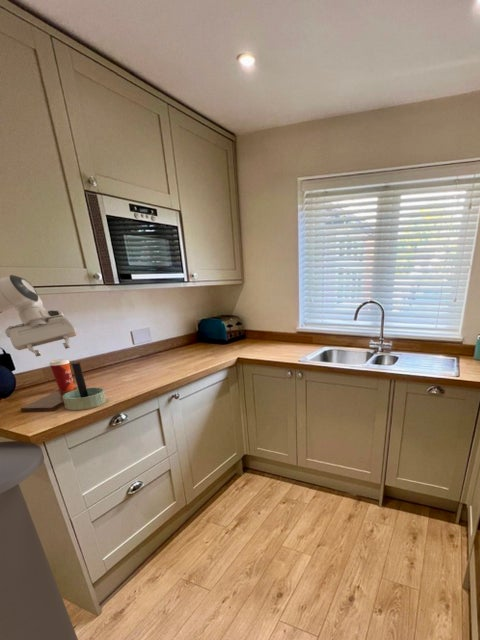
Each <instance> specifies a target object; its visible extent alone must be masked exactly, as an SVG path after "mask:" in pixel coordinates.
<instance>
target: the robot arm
mask: <svg viewBox="0 0 480 640" xmlns="http://www.w3.org/2000/svg"><path fill="white" fill-rule="evenodd" d="M14 308H15V310H16V311H17V312H18V317H19V319H20V321H21V323H20V324H15V325H10V326H8V327H7V328H6V329H5V331H4V333H5V335H6V337H8V338H9V339H10V342H11V344H12V347H13V348H14V349H15V350H16V351H17V350H18V351H22V350H26V349H27V350H28V351H30V352H31V353H32V354H34V355H35V357H36V358H37V357H40V356H41V355H42V354H41V353H40V350H39V349H34V347H37V346H42V345H46V344H49V343H54V342H57V341H61V340H64V342H62V345H63V347H64V349H65V350H67V349H70V345H69V343H70V339H69V338H74V337H76V336H77V334H78V332H77V329H76V327H75V325H74V324H73V322H71V320H70V319H69V318H68V317H66V316H65V315H64V312H63V311H62V310H60V309H59V310H58V309H56V310H55V309H52V310H51V309H47V308H46V307H44V303H43V300H42V299H41V297H40V295H39V293H38V292H37V290H36V289H35V286H33V285H32V284H31V282H29V281H28V280H26V279H25V278H23V277H20V276H18V275H13V274H10V275H6V276H3V277H0V314H2V313H3V312H5V311H8V310H11V309H14Z"/></svg>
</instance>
